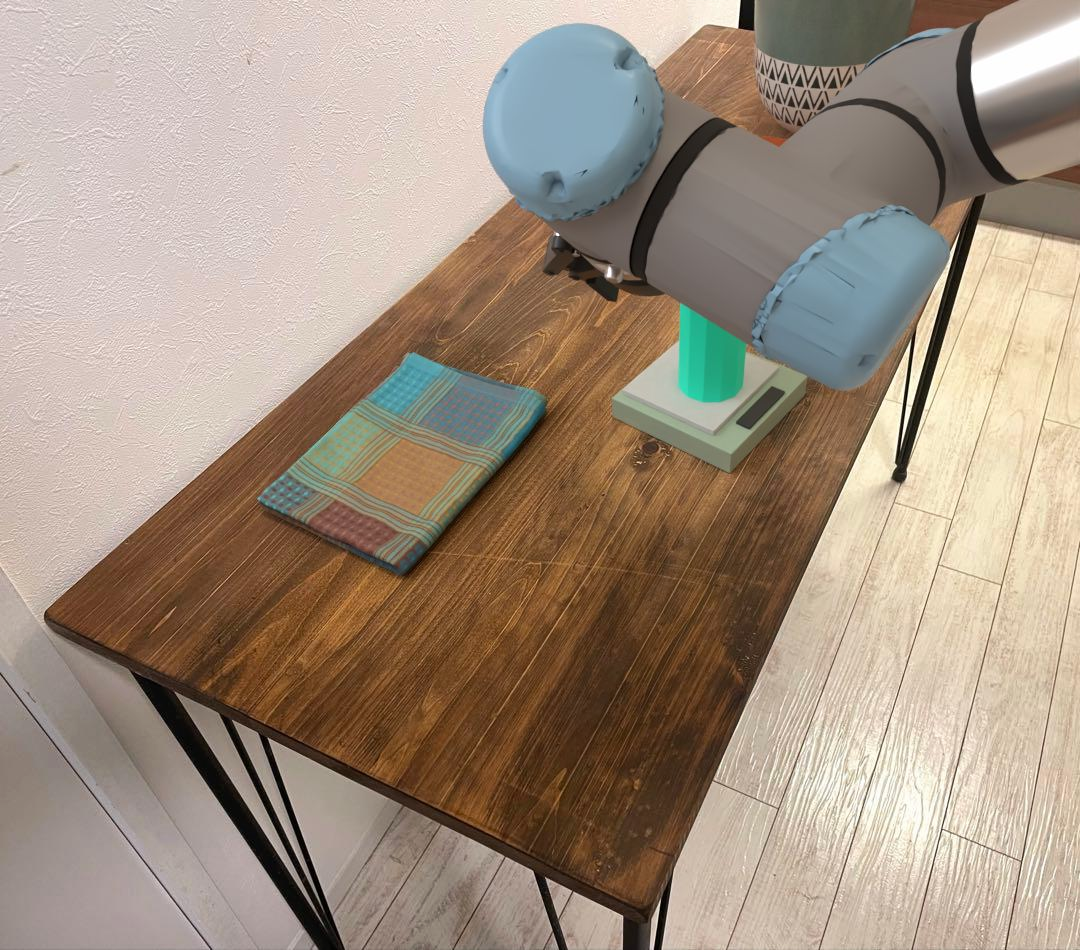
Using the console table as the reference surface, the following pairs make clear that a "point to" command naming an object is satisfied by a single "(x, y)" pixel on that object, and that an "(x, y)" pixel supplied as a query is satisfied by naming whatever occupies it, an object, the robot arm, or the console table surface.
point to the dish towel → (405, 461)
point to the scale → (709, 409)
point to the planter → (819, 50)
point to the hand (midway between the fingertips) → (699, 296)
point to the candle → (708, 359)
